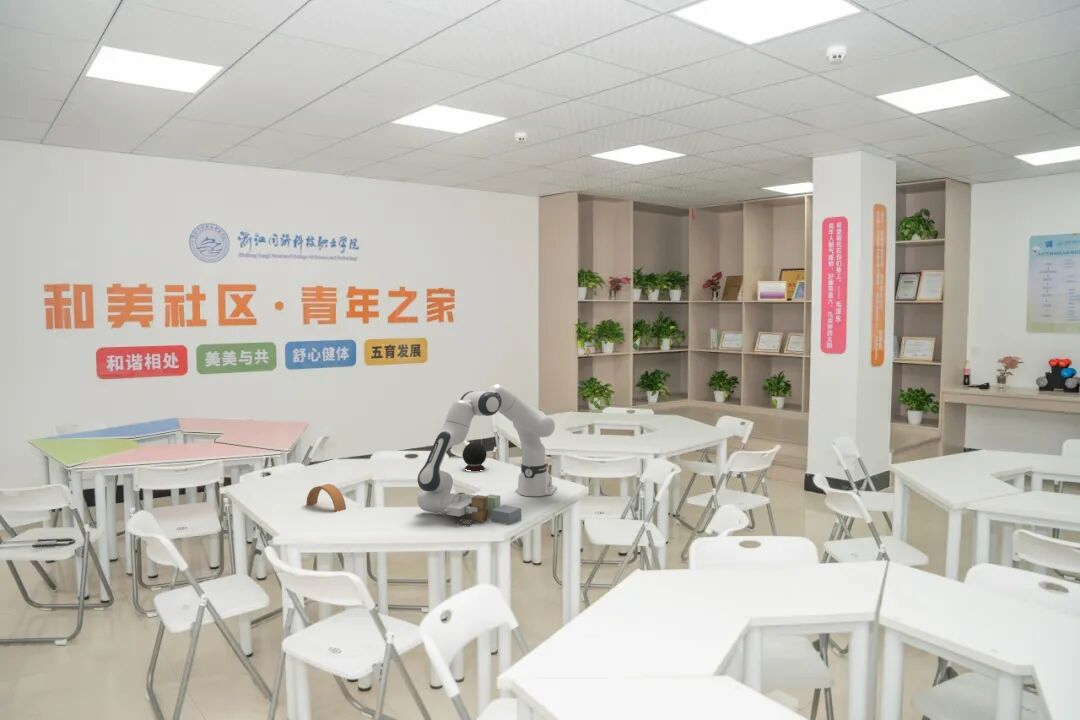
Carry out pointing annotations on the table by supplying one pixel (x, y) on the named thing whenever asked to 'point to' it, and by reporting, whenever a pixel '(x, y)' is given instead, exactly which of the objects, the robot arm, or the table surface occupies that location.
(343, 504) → the orange brown arch
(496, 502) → the sage green block
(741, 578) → the table surface
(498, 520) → the slate base block
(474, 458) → the snow globe
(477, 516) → the walnut block
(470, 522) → the card
